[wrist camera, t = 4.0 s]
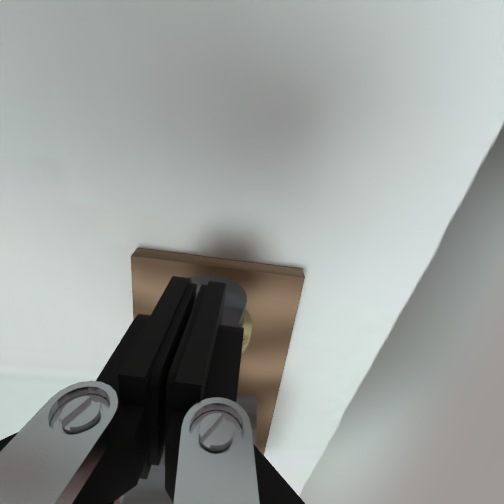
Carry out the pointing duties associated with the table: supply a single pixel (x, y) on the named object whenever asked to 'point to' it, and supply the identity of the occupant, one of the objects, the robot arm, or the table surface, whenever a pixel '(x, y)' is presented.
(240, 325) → the shaft
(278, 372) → the block
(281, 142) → the table surface
